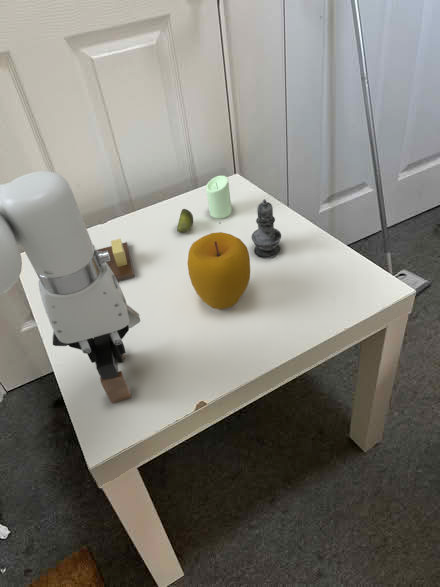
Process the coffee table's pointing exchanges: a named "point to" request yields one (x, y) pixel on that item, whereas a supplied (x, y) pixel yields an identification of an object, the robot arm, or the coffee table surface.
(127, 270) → the butter board
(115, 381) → the brown block
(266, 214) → the black chess piece
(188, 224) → the lime
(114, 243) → the butter slice
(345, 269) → the coffee table surface
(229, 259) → the apple
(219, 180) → the candle
